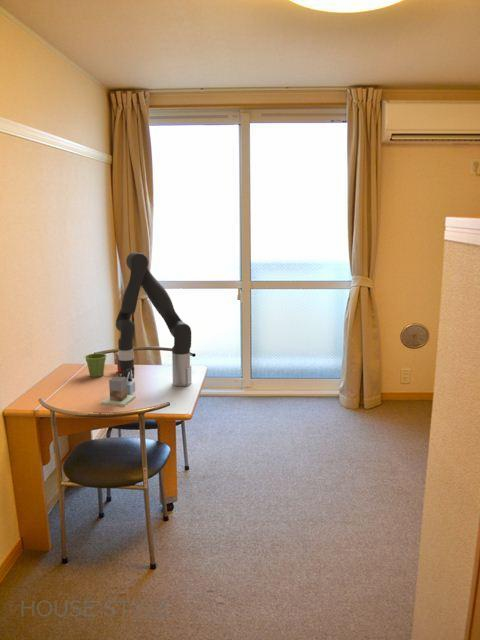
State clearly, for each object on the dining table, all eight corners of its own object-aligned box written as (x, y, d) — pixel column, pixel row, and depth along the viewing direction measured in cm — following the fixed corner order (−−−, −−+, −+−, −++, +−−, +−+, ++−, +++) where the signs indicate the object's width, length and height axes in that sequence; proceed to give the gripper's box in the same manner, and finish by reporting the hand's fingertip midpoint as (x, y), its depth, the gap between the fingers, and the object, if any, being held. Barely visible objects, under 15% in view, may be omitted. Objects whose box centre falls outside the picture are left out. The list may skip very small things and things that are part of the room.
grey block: (126, 387, 247) (126, 377, 246) (121, 391, 241) (120, 381, 240) (115, 386, 248) (114, 376, 247) (109, 390, 242) (109, 380, 241)
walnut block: (127, 397, 248) (126, 387, 247) (121, 401, 242) (121, 391, 241) (115, 396, 249) (115, 386, 248) (109, 400, 243) (109, 390, 242)
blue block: (135, 390, 260) (134, 381, 259) (130, 394, 254) (130, 385, 253) (124, 389, 261) (123, 380, 260) (119, 393, 255) (118, 384, 254)
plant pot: (109, 372, 289) (108, 353, 287) (105, 378, 278) (104, 358, 276) (88, 372, 289) (87, 353, 287) (82, 378, 277) (81, 358, 275)
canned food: (121, 374, 285) (120, 355, 283) (115, 371, 291) (114, 352, 289) (134, 372, 290) (133, 353, 288) (127, 368, 296) (126, 350, 294)
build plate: (135, 397, 250) (135, 395, 250) (124, 406, 239) (124, 404, 238) (112, 395, 253) (112, 393, 253) (101, 404, 241) (101, 402, 241)
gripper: (126, 362, 246) (128, 395, 249) (139, 354, 260) (139, 386, 263) (112, 361, 248) (113, 394, 251) (125, 353, 261) (126, 385, 265)
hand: (127, 390), depth 257 cm, fingers closed on blue block, 6 cm apart
